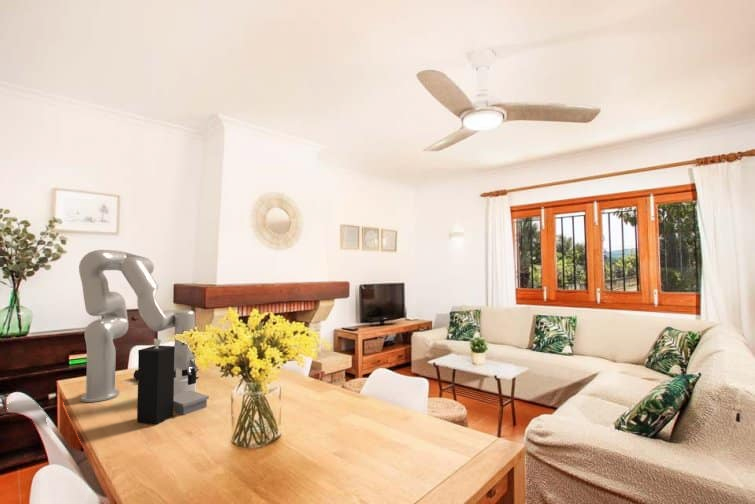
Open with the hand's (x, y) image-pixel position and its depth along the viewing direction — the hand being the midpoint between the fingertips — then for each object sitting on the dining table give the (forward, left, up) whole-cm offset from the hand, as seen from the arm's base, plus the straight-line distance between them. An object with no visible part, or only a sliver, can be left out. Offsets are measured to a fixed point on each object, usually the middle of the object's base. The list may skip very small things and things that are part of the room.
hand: (185, 382), depth 154 cm
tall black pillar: (+15, -19, -6) cm, 25 cm away
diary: (-29, +9, -6) cm, 31 cm away
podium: (+14, -7, -5) cm, 16 cm away
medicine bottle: (0, 0, -6) cm, 6 cm away
